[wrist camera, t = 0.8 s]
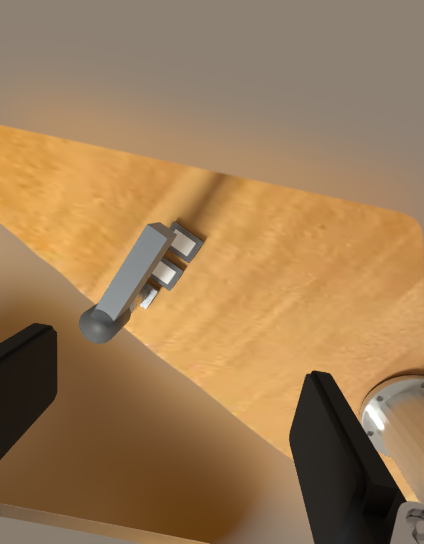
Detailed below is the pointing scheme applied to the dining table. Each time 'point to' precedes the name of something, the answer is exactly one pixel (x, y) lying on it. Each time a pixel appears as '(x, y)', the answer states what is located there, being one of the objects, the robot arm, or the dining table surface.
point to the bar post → (144, 296)
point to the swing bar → (126, 285)
